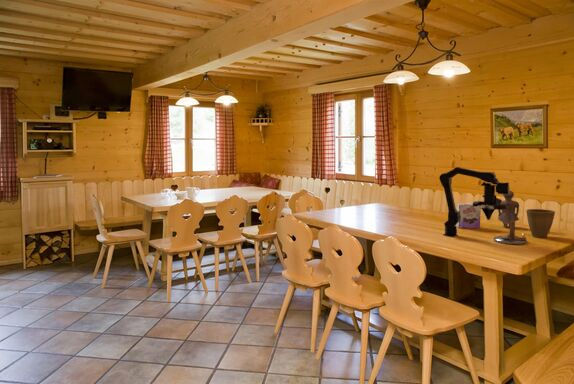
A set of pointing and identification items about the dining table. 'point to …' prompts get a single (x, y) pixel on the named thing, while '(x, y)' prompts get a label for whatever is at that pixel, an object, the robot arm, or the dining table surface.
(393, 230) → the dining table surface
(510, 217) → the clay figurine
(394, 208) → the dining table surface
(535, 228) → the plant pot
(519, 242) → the post base
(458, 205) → the candy box
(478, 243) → the dining table surface
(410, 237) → the dining table surface
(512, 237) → the crank handle
